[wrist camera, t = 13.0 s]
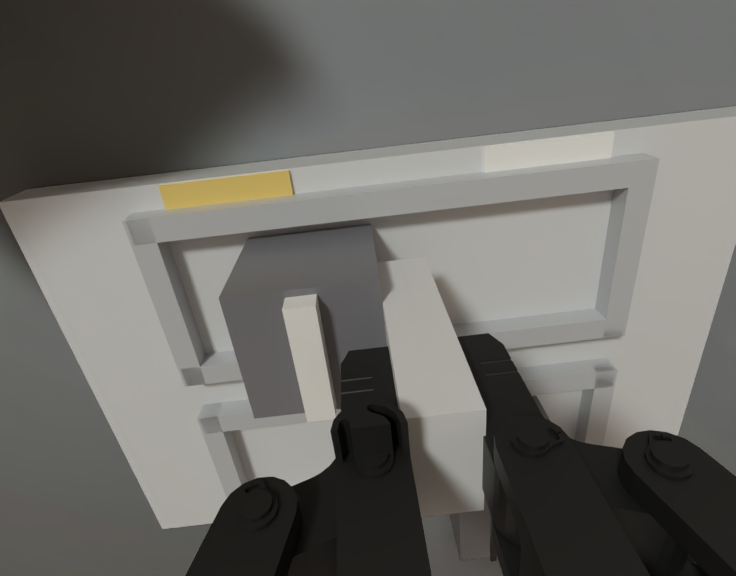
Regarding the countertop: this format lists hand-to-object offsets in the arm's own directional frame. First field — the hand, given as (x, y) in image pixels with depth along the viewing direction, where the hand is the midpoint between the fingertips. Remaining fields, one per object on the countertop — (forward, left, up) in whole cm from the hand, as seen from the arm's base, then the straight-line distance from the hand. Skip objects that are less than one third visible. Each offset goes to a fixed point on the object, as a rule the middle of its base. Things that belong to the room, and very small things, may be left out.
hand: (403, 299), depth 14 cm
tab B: (-3, 0, -2) cm, 3 cm away
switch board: (0, -4, -3) cm, 5 cm away
